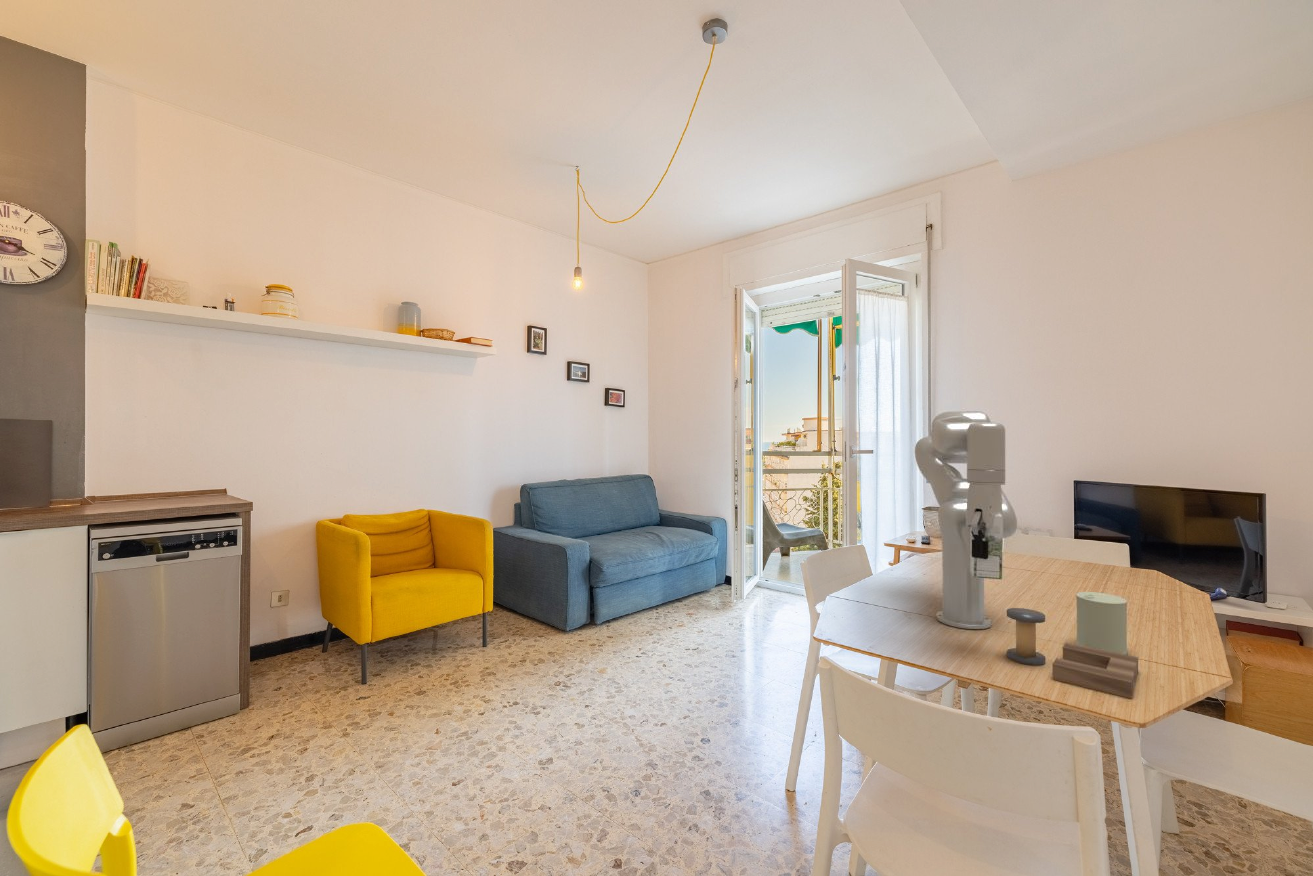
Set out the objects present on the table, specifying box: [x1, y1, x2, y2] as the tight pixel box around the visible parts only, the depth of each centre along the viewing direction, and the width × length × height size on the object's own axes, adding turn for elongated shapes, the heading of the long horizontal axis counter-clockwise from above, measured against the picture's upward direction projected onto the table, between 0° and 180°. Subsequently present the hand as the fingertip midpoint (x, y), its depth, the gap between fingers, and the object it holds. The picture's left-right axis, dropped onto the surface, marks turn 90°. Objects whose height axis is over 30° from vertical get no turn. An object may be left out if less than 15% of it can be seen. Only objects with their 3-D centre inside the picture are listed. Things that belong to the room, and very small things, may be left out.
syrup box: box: [970, 513, 1004, 580], centre depth 126 cm, size 6×6×14 cm
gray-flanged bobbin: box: [1006, 607, 1047, 667], centre depth 120 cm, size 7×7×10 cm
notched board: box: [1051, 641, 1139, 700], centre depth 112 cm, size 16×12×3 cm
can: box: [1075, 591, 1129, 655], centre depth 126 cm, size 9×9×12 cm
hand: (985, 554), depth 126 cm, fingers closed on syrup box, 7 cm apart
